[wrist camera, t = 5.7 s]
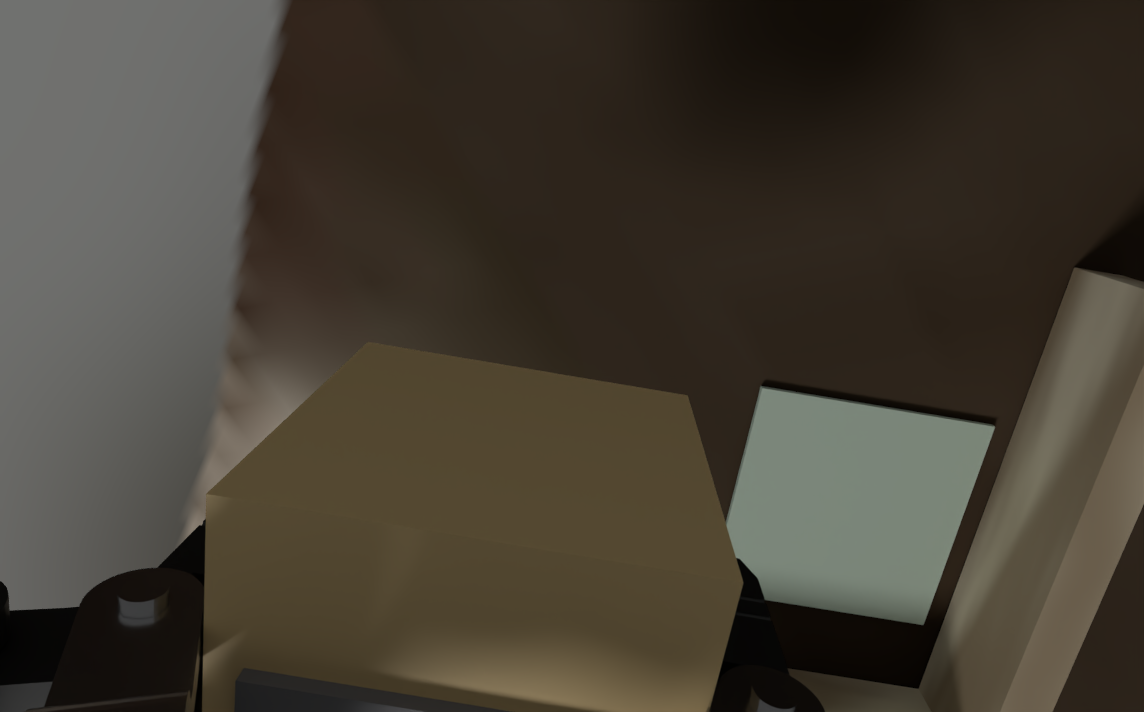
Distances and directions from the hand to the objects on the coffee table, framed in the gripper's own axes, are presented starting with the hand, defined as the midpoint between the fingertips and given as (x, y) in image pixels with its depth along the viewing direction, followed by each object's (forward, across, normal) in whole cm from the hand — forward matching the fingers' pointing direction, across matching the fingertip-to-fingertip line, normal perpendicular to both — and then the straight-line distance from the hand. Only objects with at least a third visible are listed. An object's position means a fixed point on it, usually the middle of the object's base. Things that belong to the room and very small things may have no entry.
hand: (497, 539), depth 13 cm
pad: (+12, -11, +4) cm, 16 cm away
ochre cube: (+1, 0, 0) cm, 1 cm away
